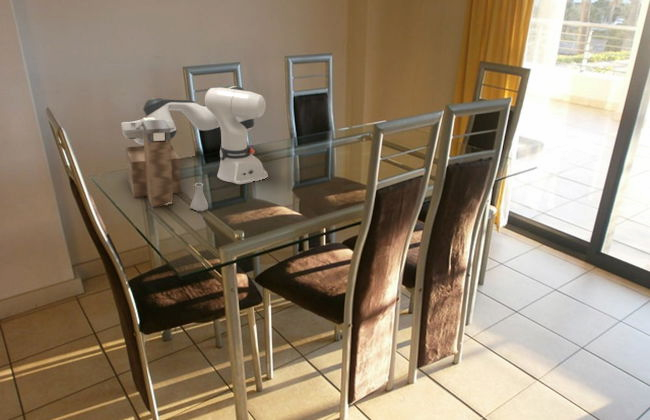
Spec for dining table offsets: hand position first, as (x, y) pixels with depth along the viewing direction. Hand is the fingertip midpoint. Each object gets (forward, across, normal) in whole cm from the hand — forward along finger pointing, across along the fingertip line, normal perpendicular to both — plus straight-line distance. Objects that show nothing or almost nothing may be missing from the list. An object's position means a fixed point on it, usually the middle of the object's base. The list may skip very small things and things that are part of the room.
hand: (150, 122), depth 201 cm
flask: (+6, -13, -36) cm, 38 cm away
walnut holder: (-9, 0, -26) cm, 28 cm away
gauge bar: (+6, 0, -5) cm, 7 cm away
